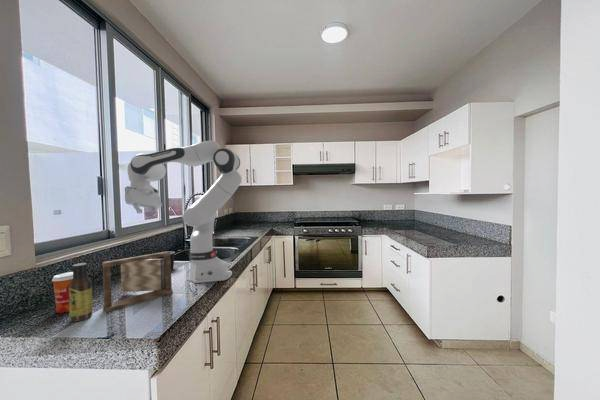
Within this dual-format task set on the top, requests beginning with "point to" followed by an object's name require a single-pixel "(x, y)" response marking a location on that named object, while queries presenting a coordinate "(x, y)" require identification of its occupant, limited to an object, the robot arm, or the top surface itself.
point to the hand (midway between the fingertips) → (147, 214)
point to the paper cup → (62, 291)
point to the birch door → (143, 275)
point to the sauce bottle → (80, 294)
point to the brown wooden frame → (139, 298)
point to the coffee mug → (170, 259)
